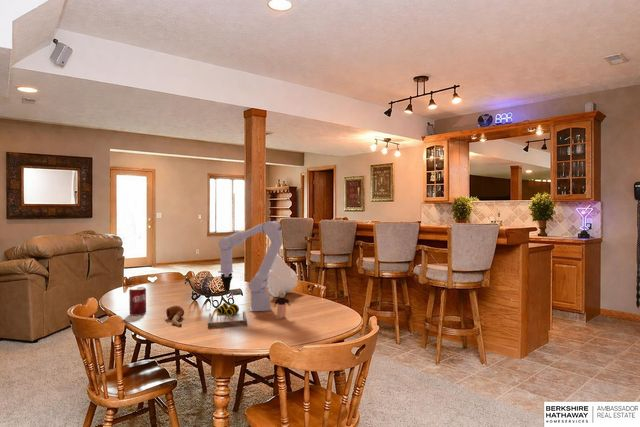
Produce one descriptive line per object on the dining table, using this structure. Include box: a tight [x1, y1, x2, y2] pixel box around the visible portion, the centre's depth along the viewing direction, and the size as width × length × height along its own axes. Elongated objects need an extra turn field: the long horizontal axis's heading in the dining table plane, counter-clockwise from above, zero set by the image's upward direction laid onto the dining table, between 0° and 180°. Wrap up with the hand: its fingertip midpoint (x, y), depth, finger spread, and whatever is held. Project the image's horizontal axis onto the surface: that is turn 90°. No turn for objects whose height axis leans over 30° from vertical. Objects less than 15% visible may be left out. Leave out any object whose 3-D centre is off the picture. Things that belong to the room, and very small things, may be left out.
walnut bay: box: [207, 311, 248, 329], centre depth 184 cm, size 16×16×2 cm
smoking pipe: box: [165, 305, 185, 328], centre depth 185 cm, size 7×18×6 cm, turn 32°
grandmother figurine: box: [272, 290, 291, 320], centre depth 189 cm, size 8×4×13 cm, turn 118°
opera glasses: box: [216, 302, 240, 317], centre depth 198 cm, size 10×5×5 cm, turn 60°
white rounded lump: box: [266, 253, 298, 298], centre depth 241 cm, size 25×16×25 cm
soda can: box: [128, 286, 147, 316], centre depth 199 cm, size 7×7×12 cm
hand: (226, 289), depth 209 cm, fingers open, 6 cm apart
